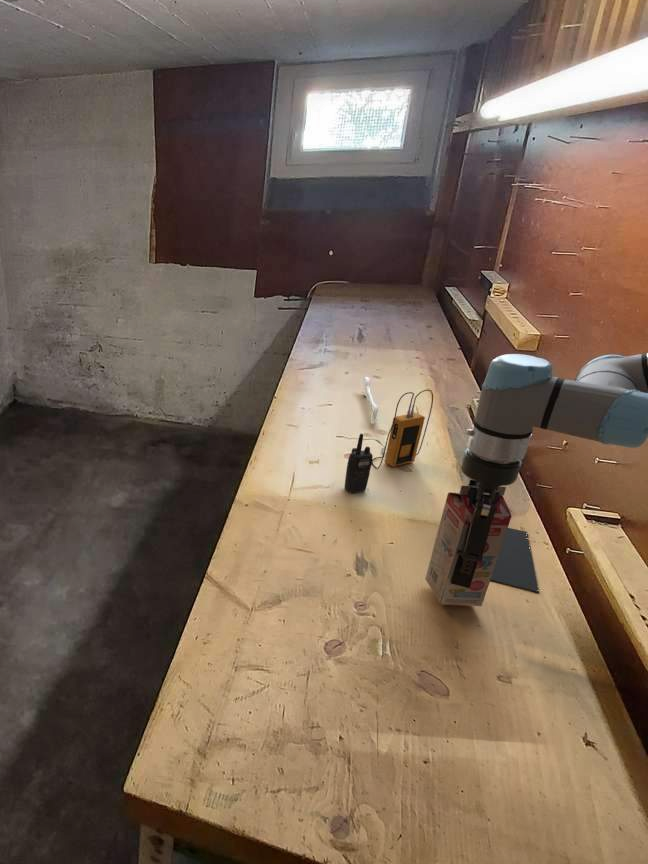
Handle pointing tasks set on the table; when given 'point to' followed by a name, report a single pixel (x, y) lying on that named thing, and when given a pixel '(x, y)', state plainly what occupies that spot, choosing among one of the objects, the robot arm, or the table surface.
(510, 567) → the edge mat
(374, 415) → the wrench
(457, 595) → the juice carton
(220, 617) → the table surface
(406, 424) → the multimeter
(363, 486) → the two-way radio
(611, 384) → the robot arm
